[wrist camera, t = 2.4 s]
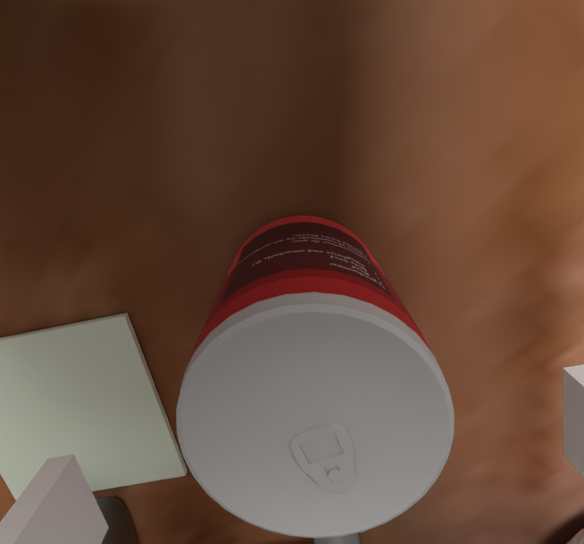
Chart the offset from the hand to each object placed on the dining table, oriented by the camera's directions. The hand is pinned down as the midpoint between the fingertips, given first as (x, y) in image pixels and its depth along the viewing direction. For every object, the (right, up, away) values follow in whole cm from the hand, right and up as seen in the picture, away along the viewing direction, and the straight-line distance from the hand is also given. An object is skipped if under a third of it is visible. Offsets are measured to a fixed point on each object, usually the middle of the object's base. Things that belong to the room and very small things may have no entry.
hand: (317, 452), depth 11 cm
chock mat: (-14, -3, +13) cm, 19 cm away
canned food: (0, +4, +11) cm, 11 cm away
